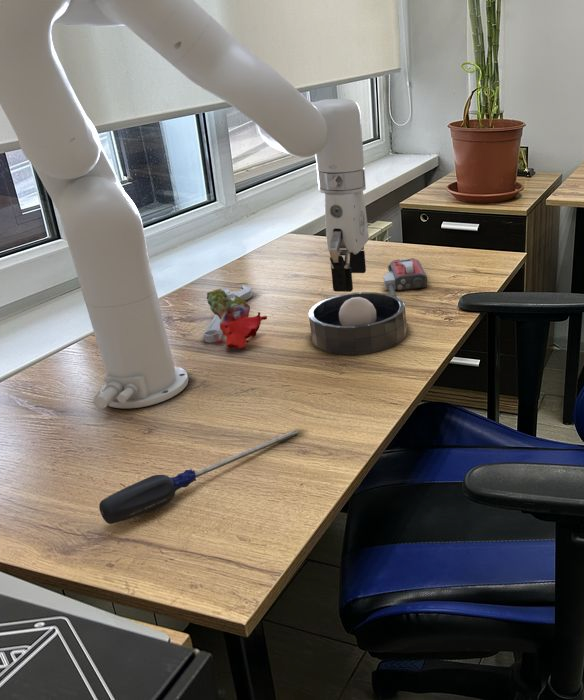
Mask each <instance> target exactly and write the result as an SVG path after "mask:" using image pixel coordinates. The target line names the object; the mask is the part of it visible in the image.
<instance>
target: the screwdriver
mask: <svg viewBox="0 0 584 700" xmlns="http://www.w3.org/2000/svg"><path fill="white" fill-rule="evenodd" d="M298 433H299V431H298V430H292V431H290V432H287V433H285V434H282V435H280V436H277V437H275V438H273V439H271V440H268V441H265V442H264V443H261V444H259V445H256V446H254V447H251V448H249V449H247V450H244V451H242V452H239V453H237V454H234V455H232V456H230V457H228V458H226V459H223V460H221V461H218V462H216V463H214V464H211V465H209V466H207V467H204V468H202V469H198V470H197V471H195V470H193V469H185V470H184V472H179V473H178V474H177V475H176V476H169V475H167V474H153V475H151V476H148V477H146V478H144V479H142V480H139V481H137V482H135V483H133V484H131V485H128V486H126V487H124V488H122V489H120V490H118V491H116V492H114V493H112V494H110V495H108V496H106V497H105V498H104V499H102V500H101V501H100V502H99V504H98V508H99V512H100V515H101V517H102V520H104V521H105V522H106V523H107V524H109V525H113V524H117V523H121V522H123V521H127V520H130V519H132V518H135V517H138V516H140V515H143V514H146V513H149V512H151V511H154V510H156V509H159V508H161V507H164V506H165V505H167V504H169V502H171V501H172V499H173V498H174V497H175V496H176V492H177V491H178V490H181V489H182V488H187V487H189V485H190V484H192V483H193V482H196V481H197V478H198V477H201V476H203V475H206V474H208V473H211V472H212V471H215V470H218V469H219V468H222V467H225V466H226V465H229V464H231V463H235V462H236V461H238V460H241V459H243V458H246V457H248V456H250V455H252V454H255V453H257V452H259V451H262V450H265V449H267V448H269V447H271V446H273V445H276V444H279V443H281V442H283V441H286V440H288V439H290V438H292V437H294V436H296V435H297V434H298Z"/></svg>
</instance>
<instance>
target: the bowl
mask: <svg viewBox="0 0 584 700" xmlns="http://www.w3.org/2000/svg"><path fill="white" fill-rule="evenodd" d="M396 296H397V295H396ZM396 296H393V295H391V294H389V293H384V292H376V291H359V292H348V293H344V294H339V295H338V294H337V295H334V296H331V297H329V298H327V299H323V300H321V301H319V302H317V303H316V304H314V305H313V306H312V307H311V308H310V309H309V311H308V320H309V327H310V334H311V341H312V343H313V345H314V347H316V348H317V349H318V350H320V351H322V352H325V353H327V354H328V353H329V354H332V355H341V356H356V355H357V356H359V355H368V354H372V353H377V352H380V351H384V350H387V349H390V348H392V347H394V346H396V345H397V344H400V342H402V341H403V340H404V338H405V337H406V336H407V329H408V326H407V314H406V313H407V312H406V305H405V301H403V299H401V298H399V297H398V296H397V297H396ZM355 297H361V298H364V299H367V300H368V301H369V302H371V303H372V304H373V306H374V308H375V310H376V317H377V318H376V321H375V323H371V324H366V325H358V326H342V325H341V323H340V321H339V311H340V308H341V306H342V305H343V304H344V302H345V301H347V300H349V299H351V298H355Z"/></svg>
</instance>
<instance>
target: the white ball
mask: <svg viewBox="0 0 584 700" xmlns="http://www.w3.org/2000/svg"><path fill="white" fill-rule="evenodd" d="M376 318H377V317H376V310H375V308H374V306H373V304H372V303H371V302H369V301H368V300H367V299H364V298H361V297H355V298H351V299H349V300H347V301H345V302H344V304H343V305H342V306H341V308H340V311H339V321H340V323H341V325H342V326H358V325H366V324H371V323H375V321H376Z"/></svg>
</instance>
